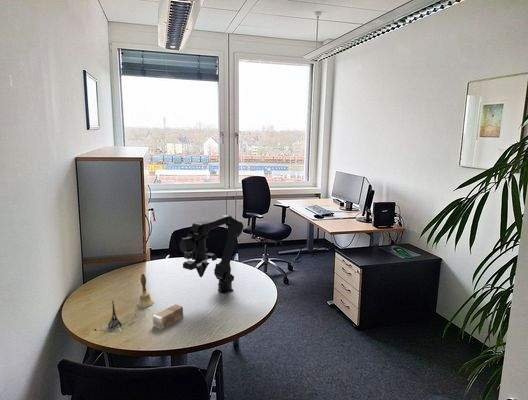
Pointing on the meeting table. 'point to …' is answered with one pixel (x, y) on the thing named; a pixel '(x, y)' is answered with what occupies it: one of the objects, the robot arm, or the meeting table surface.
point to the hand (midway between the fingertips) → (201, 277)
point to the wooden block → (167, 316)
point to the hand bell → (144, 295)
